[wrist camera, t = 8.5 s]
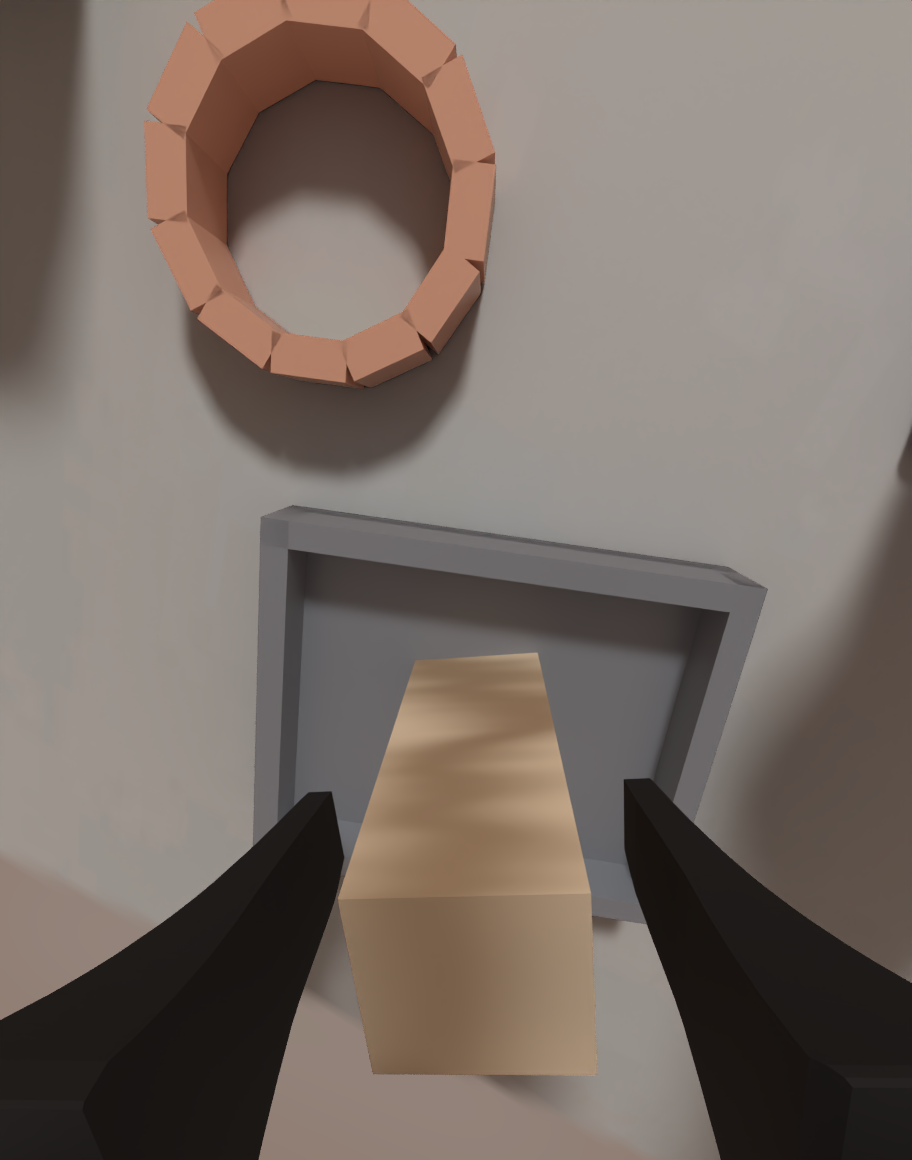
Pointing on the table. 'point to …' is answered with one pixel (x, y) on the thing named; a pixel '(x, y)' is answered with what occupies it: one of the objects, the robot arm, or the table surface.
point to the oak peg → (472, 884)
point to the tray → (486, 628)
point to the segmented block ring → (222, 122)
